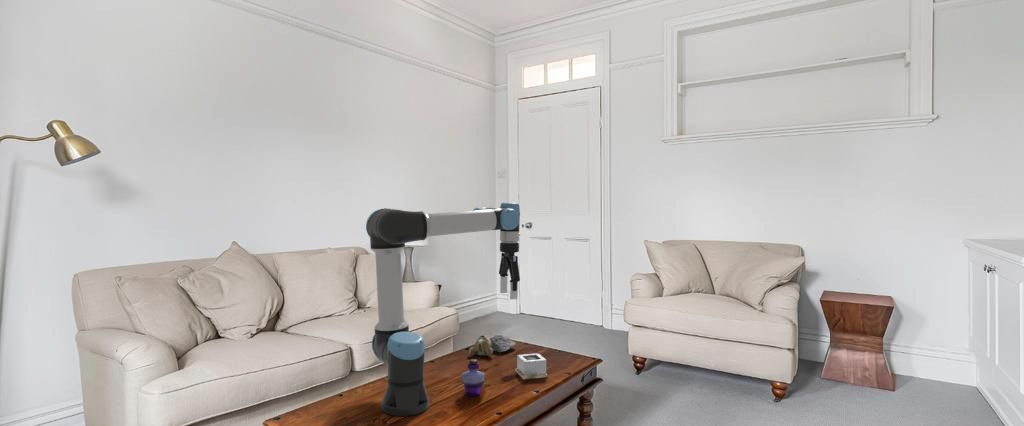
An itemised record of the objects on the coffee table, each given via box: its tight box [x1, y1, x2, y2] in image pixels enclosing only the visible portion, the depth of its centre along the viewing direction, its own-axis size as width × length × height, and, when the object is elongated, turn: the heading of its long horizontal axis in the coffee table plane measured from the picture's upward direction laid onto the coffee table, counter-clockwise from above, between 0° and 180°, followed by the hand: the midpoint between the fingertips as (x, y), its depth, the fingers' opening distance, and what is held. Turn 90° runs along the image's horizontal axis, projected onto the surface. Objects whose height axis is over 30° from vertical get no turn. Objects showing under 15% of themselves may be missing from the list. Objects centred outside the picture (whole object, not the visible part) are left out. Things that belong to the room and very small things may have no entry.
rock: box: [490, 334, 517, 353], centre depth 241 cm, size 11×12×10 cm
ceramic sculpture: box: [468, 334, 494, 357], centre depth 233 cm, size 11×9×15 cm
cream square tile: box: [515, 357, 549, 380], centre depth 208 cm, size 10×10×6 cm
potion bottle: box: [461, 358, 486, 398], centre depth 186 cm, size 9×9×12 cm
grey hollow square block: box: [516, 353, 547, 376], centre depth 208 cm, size 9×9×6 cm
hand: (508, 296), depth 208 cm, fingers open, 13 cm apart
